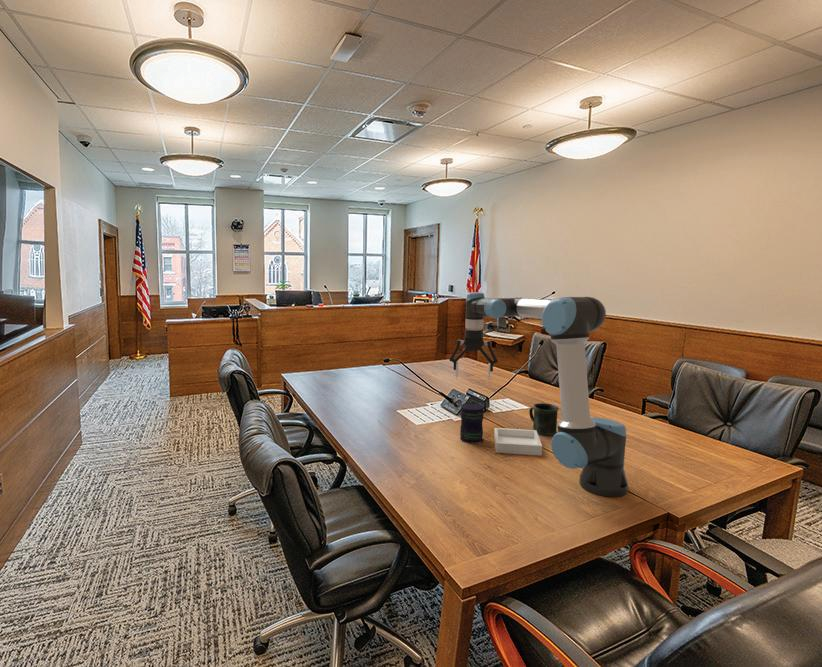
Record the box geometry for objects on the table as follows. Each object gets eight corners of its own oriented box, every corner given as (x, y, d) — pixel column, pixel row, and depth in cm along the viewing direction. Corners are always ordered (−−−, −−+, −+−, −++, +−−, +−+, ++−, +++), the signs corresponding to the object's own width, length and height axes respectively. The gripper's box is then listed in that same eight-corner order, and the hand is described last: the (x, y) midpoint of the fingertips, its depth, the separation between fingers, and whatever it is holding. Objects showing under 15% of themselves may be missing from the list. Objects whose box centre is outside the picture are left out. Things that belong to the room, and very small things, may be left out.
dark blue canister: (482, 444, 184) (483, 410, 182) (459, 442, 186) (459, 408, 184) (483, 436, 194) (484, 403, 192) (461, 434, 196) (461, 402, 194)
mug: (546, 438, 192) (548, 411, 190) (521, 428, 204) (522, 403, 202) (562, 433, 198) (563, 407, 196) (537, 424, 210) (538, 400, 208)
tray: (541, 455, 173) (542, 445, 173) (495, 452, 176) (496, 443, 175) (535, 439, 191) (536, 430, 190) (494, 436, 194) (494, 427, 193)
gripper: (503, 328, 186) (501, 377, 188) (445, 327, 189) (444, 374, 192) (504, 331, 178) (502, 381, 181) (444, 329, 182) (443, 378, 185)
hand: (472, 378), depth 187 cm, fingers open, 13 cm apart
